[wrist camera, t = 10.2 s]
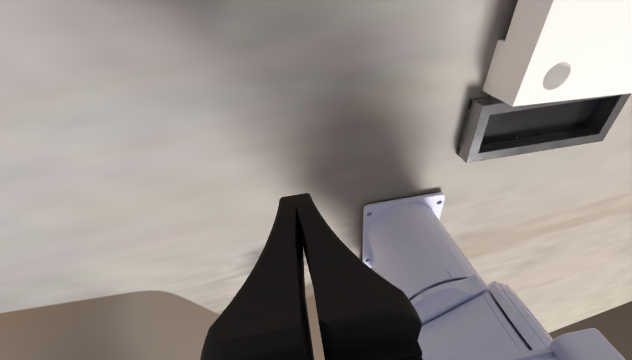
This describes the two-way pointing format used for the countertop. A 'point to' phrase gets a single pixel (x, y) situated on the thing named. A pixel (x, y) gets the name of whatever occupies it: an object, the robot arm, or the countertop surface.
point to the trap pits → (534, 125)
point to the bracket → (563, 52)
